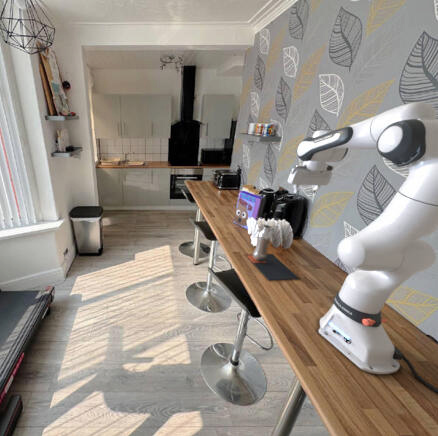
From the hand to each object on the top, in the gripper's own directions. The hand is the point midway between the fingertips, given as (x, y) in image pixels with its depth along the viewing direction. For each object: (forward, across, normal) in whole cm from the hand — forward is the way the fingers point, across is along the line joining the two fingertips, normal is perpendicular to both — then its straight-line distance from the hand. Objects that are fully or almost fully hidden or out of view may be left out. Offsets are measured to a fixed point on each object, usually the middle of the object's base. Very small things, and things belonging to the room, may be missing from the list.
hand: (304, 193), depth 118 cm
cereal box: (+38, -3, +39) cm, 54 cm away
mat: (+37, -14, -9) cm, 41 cm away
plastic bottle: (+37, -18, -4) cm, 41 cm away
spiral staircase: (+38, -3, +12) cm, 39 cm away
